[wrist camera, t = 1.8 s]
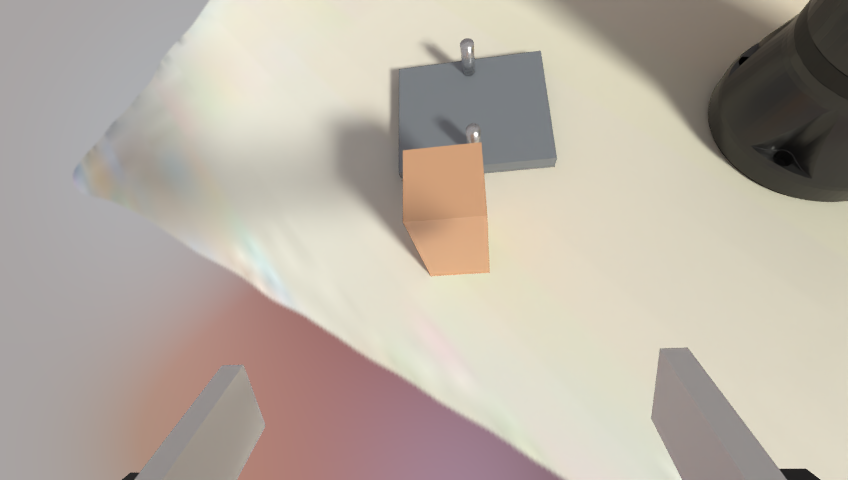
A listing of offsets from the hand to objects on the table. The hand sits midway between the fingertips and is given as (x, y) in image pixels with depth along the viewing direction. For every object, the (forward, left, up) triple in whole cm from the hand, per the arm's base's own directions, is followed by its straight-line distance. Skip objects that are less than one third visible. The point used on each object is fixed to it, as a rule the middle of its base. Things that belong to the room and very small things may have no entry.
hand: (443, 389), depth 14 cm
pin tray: (-1, -25, -20) cm, 32 cm away
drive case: (+1, -12, -20) cm, 24 cm away
